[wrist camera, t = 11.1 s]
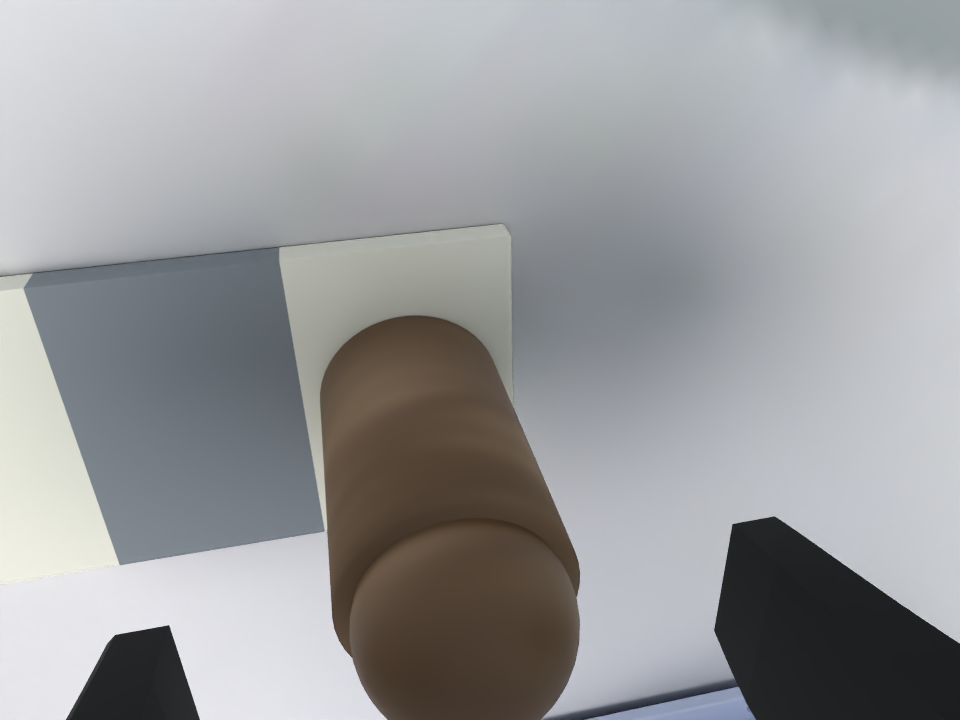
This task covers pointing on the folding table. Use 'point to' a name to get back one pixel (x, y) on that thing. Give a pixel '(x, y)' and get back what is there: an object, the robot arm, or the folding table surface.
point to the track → (203, 388)
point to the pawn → (442, 531)
